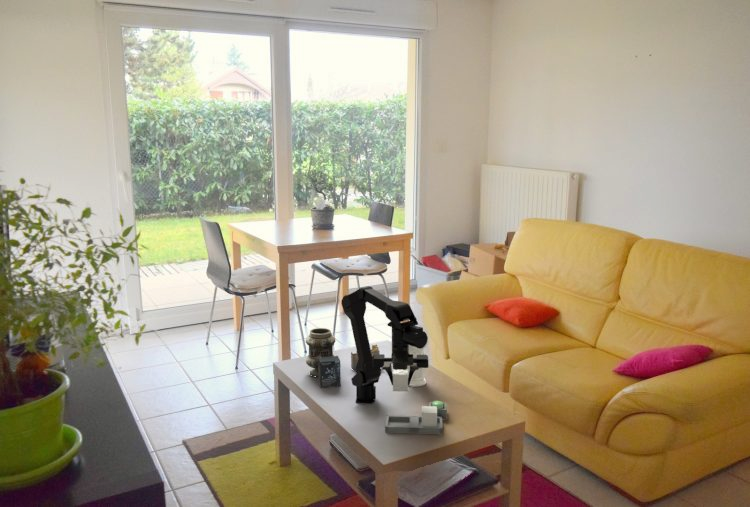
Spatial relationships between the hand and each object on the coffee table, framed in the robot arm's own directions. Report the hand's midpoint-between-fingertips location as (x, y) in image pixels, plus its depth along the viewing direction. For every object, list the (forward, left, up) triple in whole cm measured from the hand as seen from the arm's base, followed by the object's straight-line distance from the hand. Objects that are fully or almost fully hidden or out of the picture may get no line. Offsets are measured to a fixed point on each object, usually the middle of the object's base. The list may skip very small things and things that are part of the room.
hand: (400, 384), depth 222 cm
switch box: (+13, +2, -12) cm, 17 cm away
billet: (0, 0, -1) cm, 1 cm away
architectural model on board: (-16, +45, -12) cm, 49 cm away
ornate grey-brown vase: (-33, +38, -12) cm, 52 cm away
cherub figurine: (+3, +30, -12) cm, 32 cm away
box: (-28, +27, -12) cm, 41 cm away
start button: (+13, +2, -11) cm, 17 cm away
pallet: (+5, -7, -12) cm, 15 cm away
